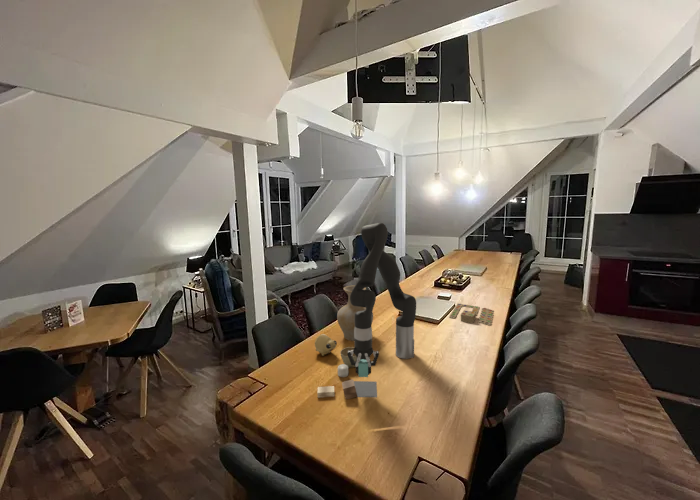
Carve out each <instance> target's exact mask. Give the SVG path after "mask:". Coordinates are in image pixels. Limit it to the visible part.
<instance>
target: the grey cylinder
mask: <svg viewBox="0 0 700 500" xmlns="http://www.w3.org/2000/svg"><path fill="white" fill-rule="evenodd" d="M337 376H338V377H340V378H346V377H348V376H349V367H348V366H347V365H345V364H344V363H342V364H339V365H338V366H337Z"/></svg>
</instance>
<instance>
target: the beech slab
mask: <svg viewBox="0 0 700 500" xmlns="http://www.w3.org/2000/svg"><path fill="white" fill-rule="evenodd" d="M316 393H317V394H316V395H317V398H332V397H335V386H334V385H333V386H331V385H330V386H328V385H327V386H318V387H317V392H316Z"/></svg>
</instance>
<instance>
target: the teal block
mask: <svg viewBox="0 0 700 500" xmlns="http://www.w3.org/2000/svg"><path fill="white" fill-rule="evenodd" d="M358 368H359V375H358V378H368V377H369V375H368V363H367V360H364V359H362V360H360V361H359V363H358Z"/></svg>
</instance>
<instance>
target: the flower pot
mask: <svg viewBox="0 0 700 500" xmlns="http://www.w3.org/2000/svg"><path fill="white" fill-rule="evenodd" d="M353 349H354V346H351V347H350V346H348V347H345V348H342V349H341V350H340V353H339V354H340V357H341V360H342V362H343V364H345V365H347V366H348V369H352V368H356V367H355V366H354V365H351V363H350V360H349V357H348V355H347V353H348V350H350V351H351V350H353ZM353 359H354V361H356V359H357V356H356V355H355V354H354V353H353Z"/></svg>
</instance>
